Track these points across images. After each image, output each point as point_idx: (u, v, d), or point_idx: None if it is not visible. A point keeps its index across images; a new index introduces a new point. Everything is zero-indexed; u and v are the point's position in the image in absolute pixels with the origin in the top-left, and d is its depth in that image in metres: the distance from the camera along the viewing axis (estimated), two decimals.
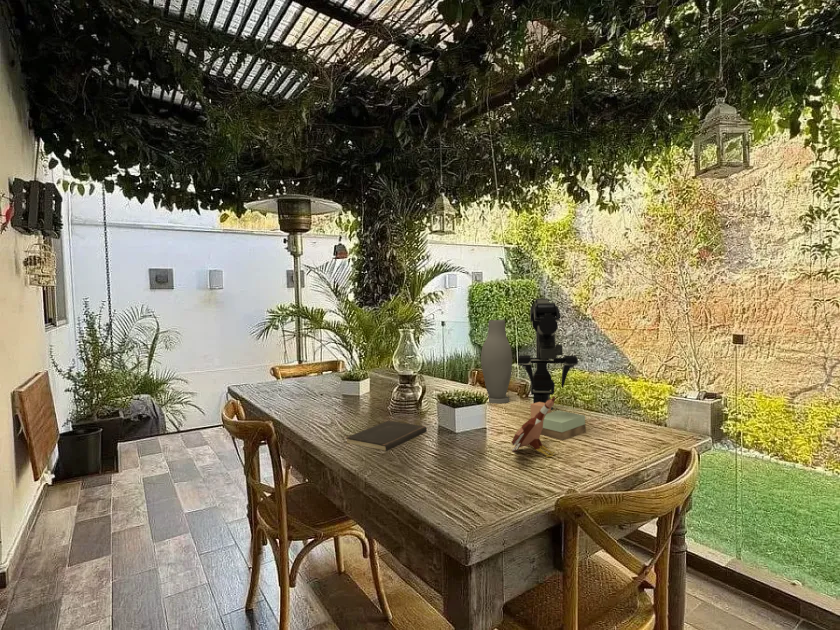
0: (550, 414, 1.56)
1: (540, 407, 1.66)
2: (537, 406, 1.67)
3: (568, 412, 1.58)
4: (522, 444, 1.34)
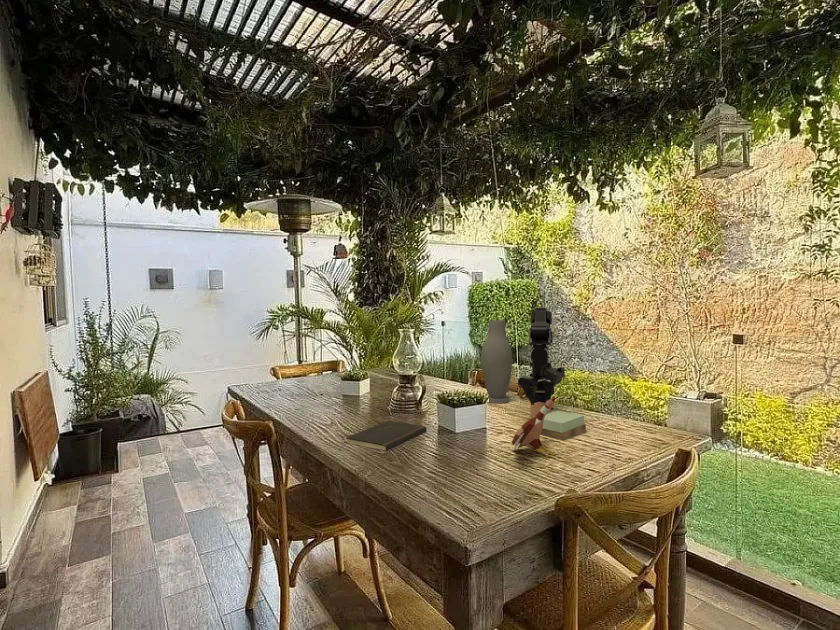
0: (549, 414, 1.55)
1: (540, 407, 1.66)
2: (537, 406, 1.67)
3: (566, 412, 1.58)
4: (522, 444, 1.34)
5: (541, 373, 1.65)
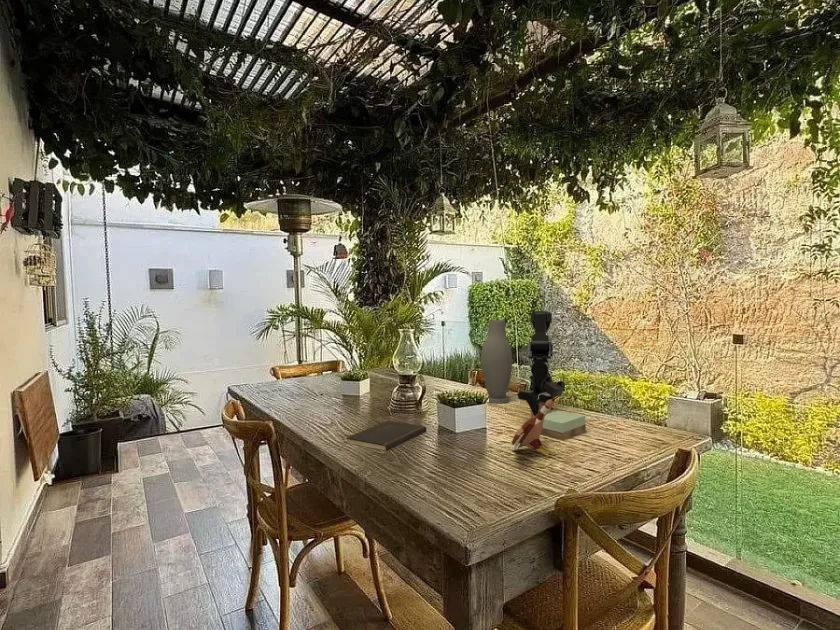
0: (550, 414, 1.55)
1: (540, 407, 1.66)
2: None
3: (568, 412, 1.57)
4: (522, 444, 1.34)
5: (541, 387, 1.65)
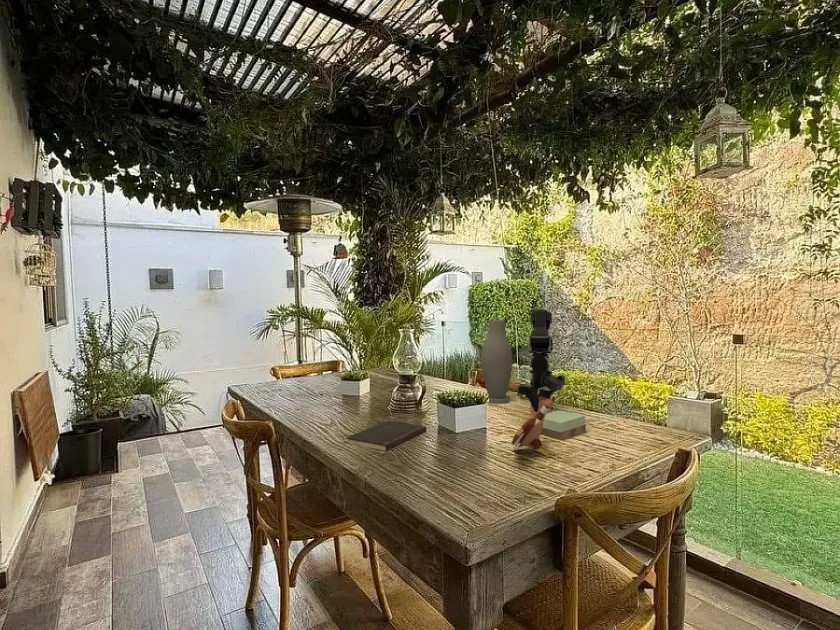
0: (550, 414, 1.55)
1: (540, 401, 1.66)
2: None
3: (568, 412, 1.57)
4: (522, 444, 1.34)
5: (541, 381, 1.65)
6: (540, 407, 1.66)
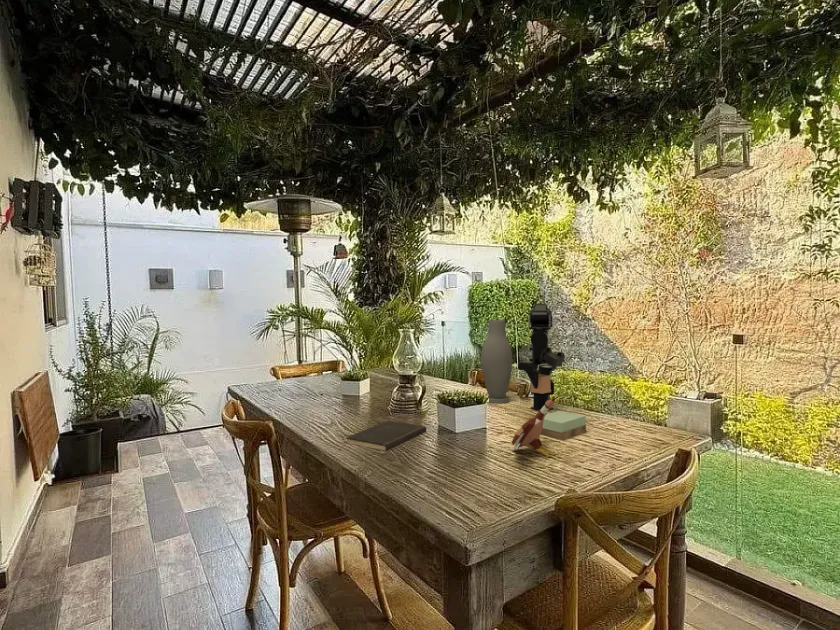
0: (550, 414, 1.56)
1: (540, 378, 1.66)
2: None
3: (568, 412, 1.58)
4: (522, 444, 1.34)
5: (541, 357, 1.64)
6: (540, 384, 1.66)
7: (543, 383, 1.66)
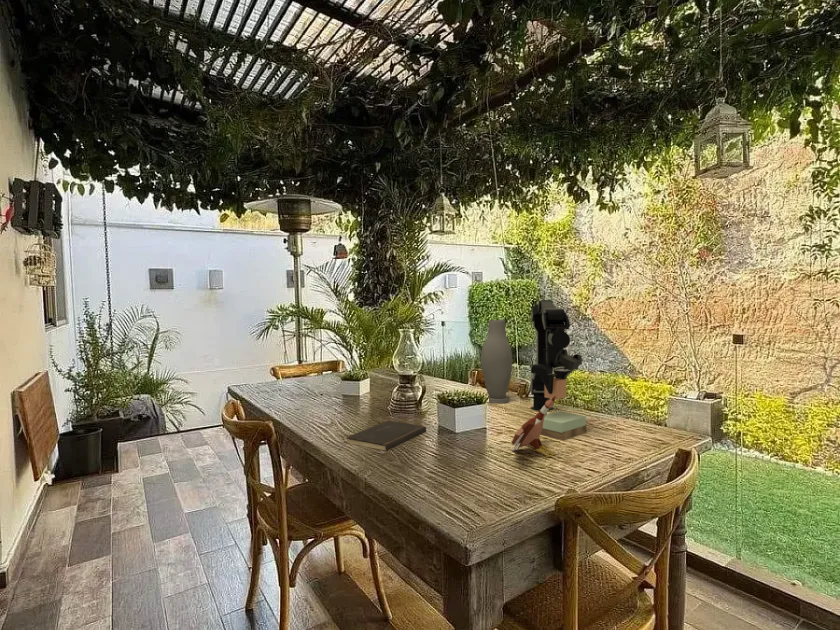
0: (551, 415, 1.56)
1: (555, 382, 1.53)
2: None
3: (569, 413, 1.57)
4: (522, 444, 1.34)
5: (556, 360, 1.52)
6: (555, 388, 1.53)
7: (559, 388, 1.53)
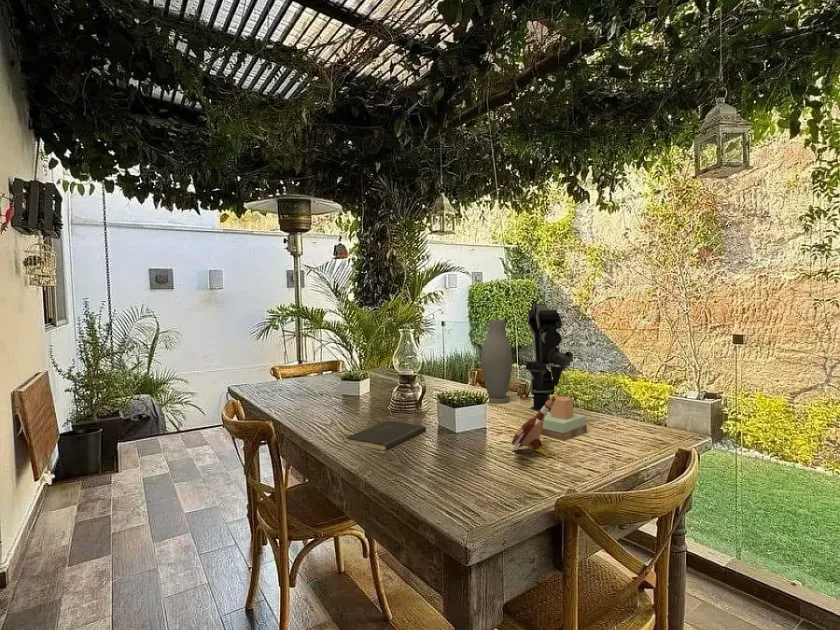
0: None
1: (562, 402, 1.50)
2: (559, 401, 1.51)
3: None
4: (522, 444, 1.34)
5: (549, 357, 1.64)
6: (562, 408, 1.50)
7: (566, 408, 1.50)
